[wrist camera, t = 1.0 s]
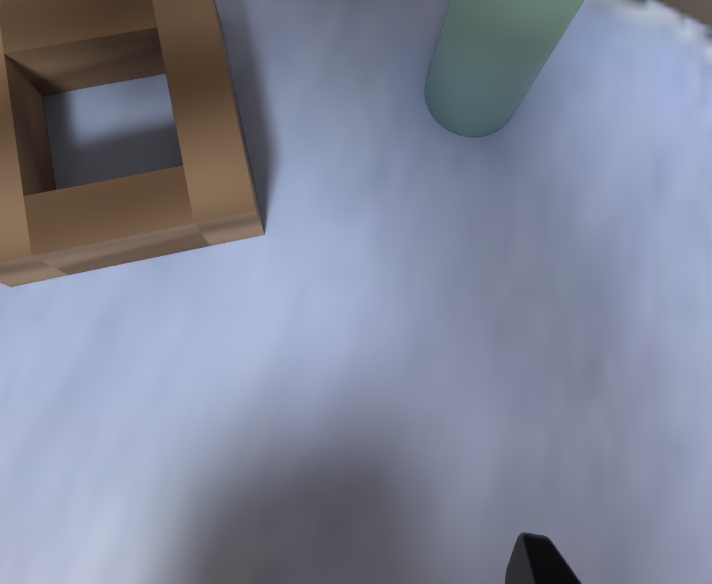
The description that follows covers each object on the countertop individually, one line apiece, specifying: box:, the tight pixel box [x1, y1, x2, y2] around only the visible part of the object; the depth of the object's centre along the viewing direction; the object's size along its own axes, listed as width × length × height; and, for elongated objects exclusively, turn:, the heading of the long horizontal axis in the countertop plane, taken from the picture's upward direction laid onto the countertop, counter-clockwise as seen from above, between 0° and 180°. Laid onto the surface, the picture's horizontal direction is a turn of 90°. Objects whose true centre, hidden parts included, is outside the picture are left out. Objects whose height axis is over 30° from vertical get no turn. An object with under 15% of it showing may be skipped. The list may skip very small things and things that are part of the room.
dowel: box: [425, 0, 584, 137], centre depth 21 cm, size 4×4×10 cm
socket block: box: [0, 0, 265, 287], centre depth 23 cm, size 10×10×3 cm
